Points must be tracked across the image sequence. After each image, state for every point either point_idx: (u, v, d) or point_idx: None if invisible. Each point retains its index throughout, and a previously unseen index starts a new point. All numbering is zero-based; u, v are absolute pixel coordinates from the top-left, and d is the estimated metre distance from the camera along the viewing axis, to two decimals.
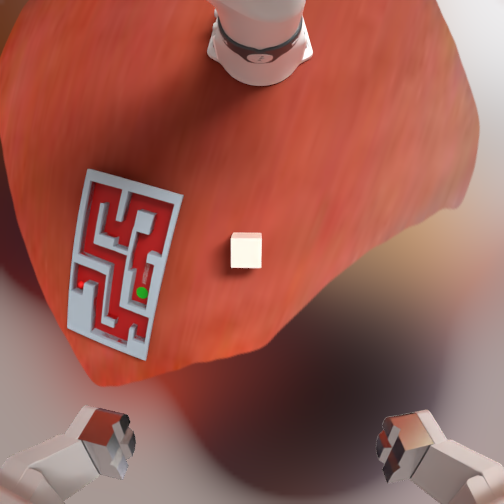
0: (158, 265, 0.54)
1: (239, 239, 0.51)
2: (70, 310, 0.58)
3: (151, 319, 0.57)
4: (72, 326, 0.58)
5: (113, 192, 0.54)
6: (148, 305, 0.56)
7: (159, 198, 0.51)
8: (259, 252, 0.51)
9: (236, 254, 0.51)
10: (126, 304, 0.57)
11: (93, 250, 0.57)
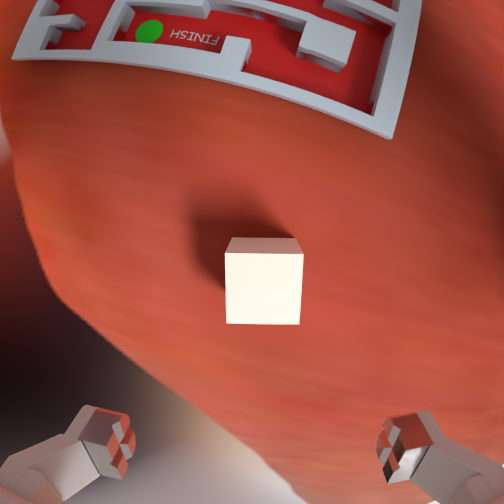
0: (219, 63, 0.19)
1: (299, 275, 0.20)
2: None
3: (86, 55, 0.18)
4: None
5: None
6: (118, 45, 0.18)
7: (385, 84, 0.19)
8: (265, 320, 0.21)
9: (260, 268, 0.20)
10: None
11: None
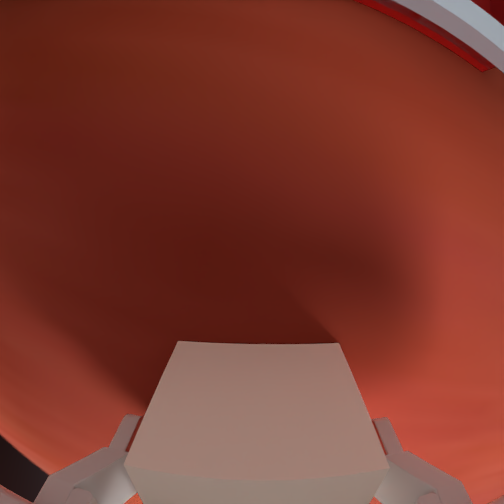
0: None
1: (361, 502, 0.05)
2: None
3: None
4: None
5: None
6: None
7: None
8: None
9: (245, 503, 0.05)
10: None
11: None
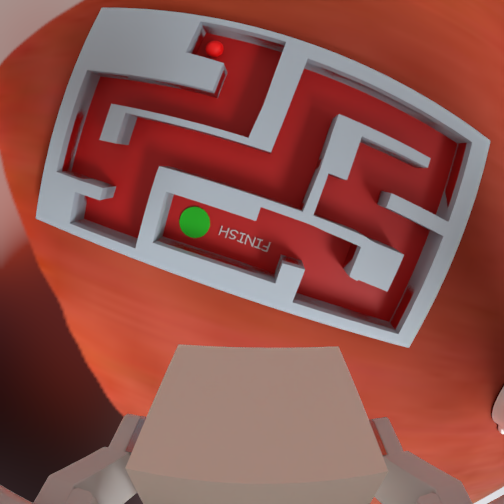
0: (274, 293, 0.23)
1: None
2: (145, 15, 0.18)
3: (132, 254, 0.23)
4: (104, 20, 0.18)
5: (432, 181, 0.23)
6: (167, 252, 0.23)
7: (415, 305, 0.23)
8: None
9: None
10: (164, 188, 0.22)
11: (306, 97, 0.22)
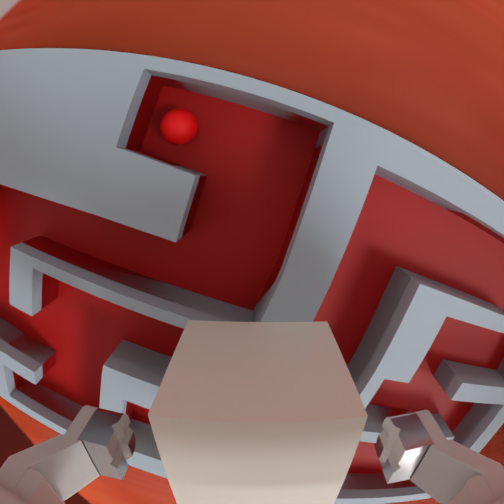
0: None
1: (347, 453, 0.06)
2: (47, 63, 0.09)
3: None
4: None
5: None
6: (141, 457, 0.13)
7: None
8: None
9: (249, 448, 0.06)
10: (119, 395, 0.12)
11: (357, 227, 0.12)
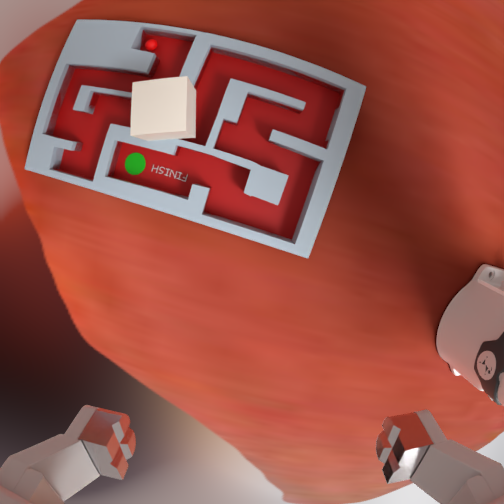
0: (187, 208, 0.31)
1: (184, 91, 0.23)
2: (106, 24, 0.25)
3: (90, 186, 0.30)
4: (79, 29, 0.25)
5: (317, 123, 0.31)
6: (114, 182, 0.30)
7: (306, 218, 0.31)
8: (159, 129, 0.24)
9: (156, 89, 0.23)
10: (113, 138, 0.29)
11: (213, 71, 0.29)
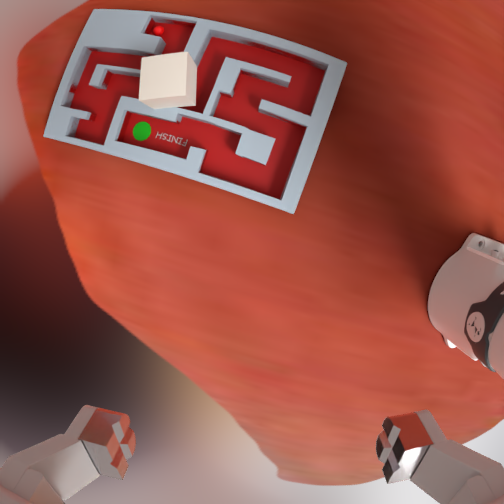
0: (185, 167, 0.34)
1: (185, 63, 0.26)
2: (119, 13, 0.29)
3: (101, 149, 0.33)
4: (95, 17, 0.28)
5: (303, 95, 0.34)
6: (122, 145, 0.33)
7: (292, 177, 0.34)
8: (163, 94, 0.27)
9: (161, 62, 0.26)
10: (123, 108, 0.32)
11: (212, 52, 0.32)
